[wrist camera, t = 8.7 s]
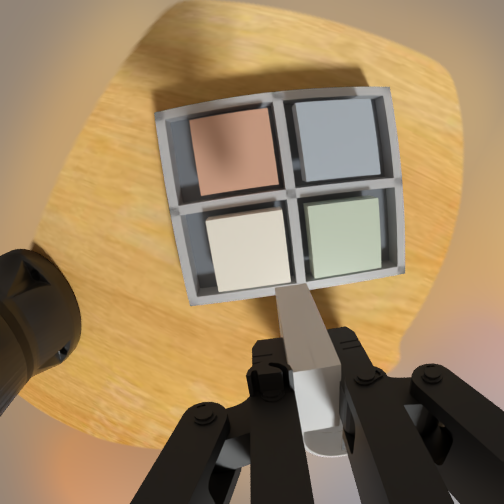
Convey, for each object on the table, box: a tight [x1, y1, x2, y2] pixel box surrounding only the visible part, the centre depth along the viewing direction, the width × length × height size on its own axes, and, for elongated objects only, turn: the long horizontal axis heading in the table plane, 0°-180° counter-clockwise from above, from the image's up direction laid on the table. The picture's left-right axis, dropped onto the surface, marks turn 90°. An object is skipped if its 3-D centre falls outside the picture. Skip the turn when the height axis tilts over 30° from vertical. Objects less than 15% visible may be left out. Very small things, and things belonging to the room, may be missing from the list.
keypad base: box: [154, 87, 405, 306], centre depth 27 cm, size 20×17×4 cm
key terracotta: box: [189, 108, 279, 196], centre depth 24 cm, size 6×6×2 cm
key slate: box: [292, 99, 381, 182], centre depth 23 cm, size 6×6×2 cm
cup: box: [302, 418, 348, 457], centre depth 29 cm, size 8×8×12 cm
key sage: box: [303, 195, 381, 278], centre depth 26 cm, size 6×6×2 cm
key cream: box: [206, 206, 291, 292], centre depth 27 cm, size 6×6×2 cm
